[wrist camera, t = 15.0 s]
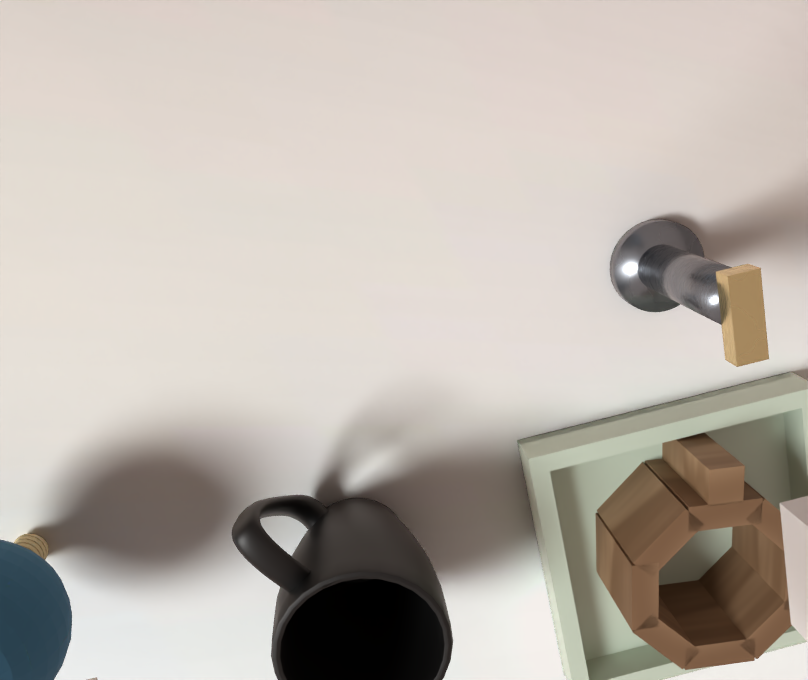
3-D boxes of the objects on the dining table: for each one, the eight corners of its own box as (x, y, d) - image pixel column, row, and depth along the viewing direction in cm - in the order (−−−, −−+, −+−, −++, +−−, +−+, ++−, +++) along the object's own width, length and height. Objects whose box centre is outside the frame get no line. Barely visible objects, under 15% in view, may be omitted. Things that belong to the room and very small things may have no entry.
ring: (594, 435, 42) (631, 479, 37) (760, 416, 43) (820, 456, 38) (596, 613, 46) (632, 677, 40) (752, 593, 46) (806, 653, 41)
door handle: (603, 231, 40) (684, 262, 31) (691, 209, 40) (798, 234, 31) (617, 321, 41) (698, 376, 32) (702, 300, 42) (807, 349, 32)
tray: (517, 440, 43) (528, 459, 40) (791, 371, 43) (818, 386, 41) (563, 672, 47) (576, 702, 45) (811, 608, 48) (837, 634, 45)
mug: (318, 398, 41) (315, 476, 32) (456, 545, 44) (489, 654, 35) (204, 492, 42) (169, 594, 33) (348, 629, 45) (353, 757, 36)
